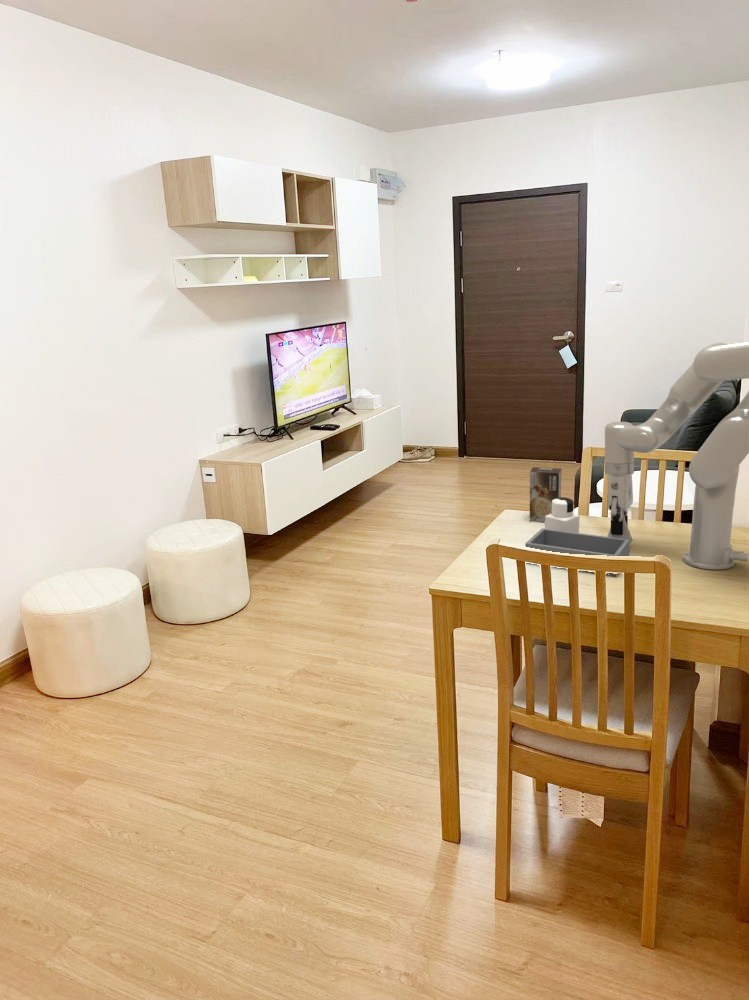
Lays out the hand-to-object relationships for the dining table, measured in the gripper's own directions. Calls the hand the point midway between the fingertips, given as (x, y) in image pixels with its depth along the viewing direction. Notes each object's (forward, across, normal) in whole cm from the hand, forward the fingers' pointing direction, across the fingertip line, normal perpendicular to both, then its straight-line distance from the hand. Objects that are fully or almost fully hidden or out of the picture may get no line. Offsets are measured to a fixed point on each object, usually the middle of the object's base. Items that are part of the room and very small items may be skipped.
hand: (619, 531), depth 217 cm
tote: (+4, -15, +8) cm, 18 cm away
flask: (+3, 0, 0) cm, 3 cm away
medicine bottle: (+4, +1, +16) cm, 17 cm away
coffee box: (+4, +16, +26) cm, 31 cm away
